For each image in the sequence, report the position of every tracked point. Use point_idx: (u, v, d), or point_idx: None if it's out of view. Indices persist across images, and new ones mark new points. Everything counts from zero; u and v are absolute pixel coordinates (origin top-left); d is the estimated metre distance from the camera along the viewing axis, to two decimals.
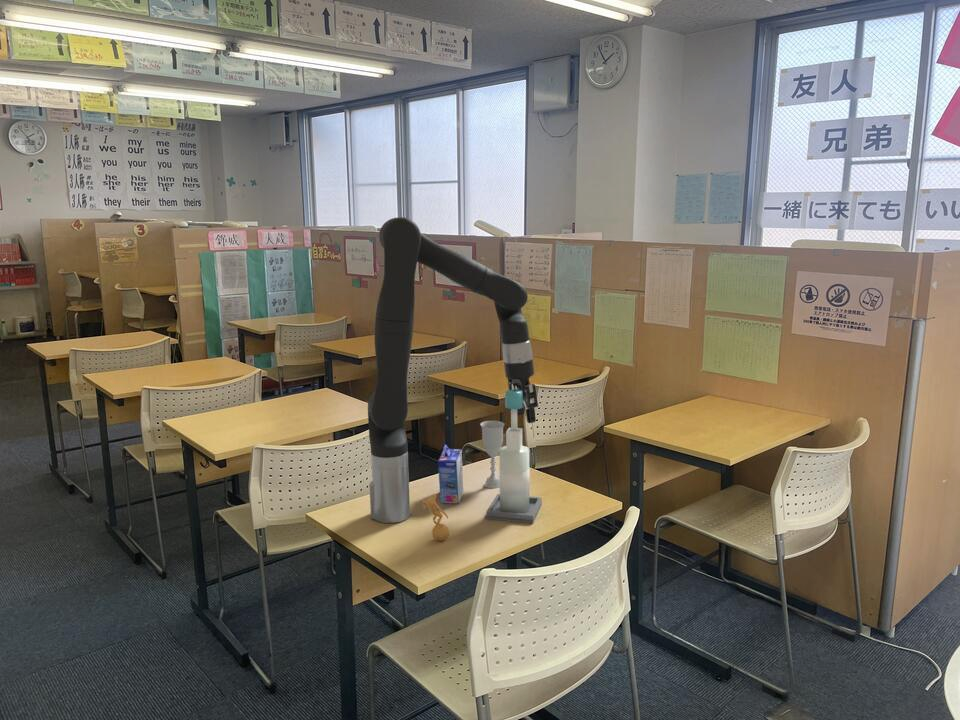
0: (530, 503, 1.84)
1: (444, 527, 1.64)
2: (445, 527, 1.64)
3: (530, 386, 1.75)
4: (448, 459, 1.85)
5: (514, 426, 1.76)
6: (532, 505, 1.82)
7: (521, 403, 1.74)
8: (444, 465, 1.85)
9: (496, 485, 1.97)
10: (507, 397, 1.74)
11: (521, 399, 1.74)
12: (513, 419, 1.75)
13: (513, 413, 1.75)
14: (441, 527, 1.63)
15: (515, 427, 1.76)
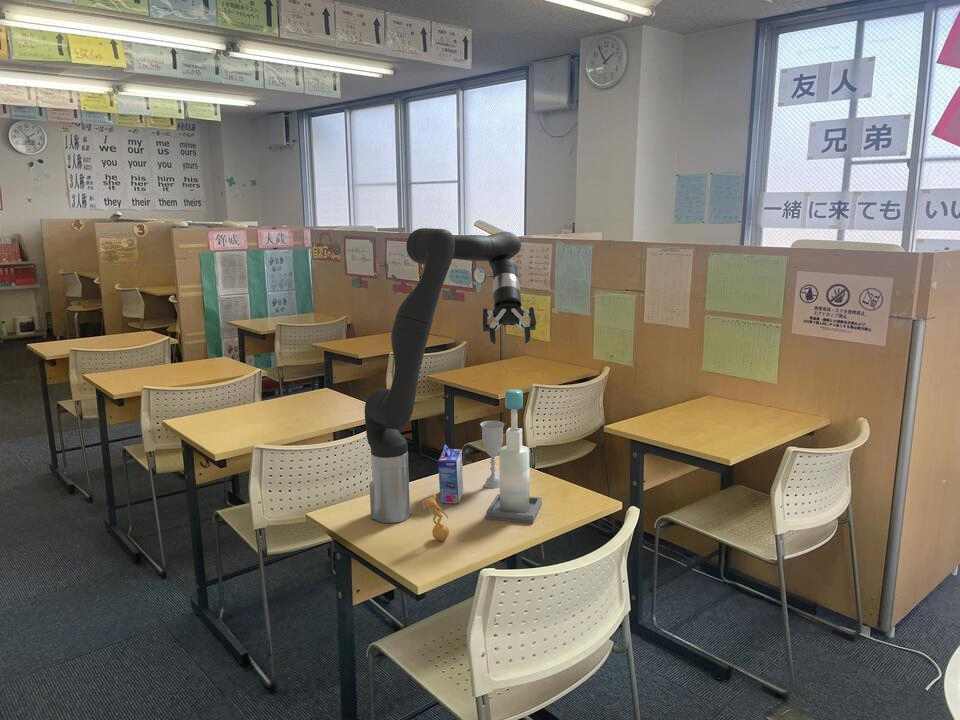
0: (530, 503, 1.84)
1: (444, 527, 1.64)
2: (445, 527, 1.64)
3: None
4: (448, 459, 1.85)
5: (514, 426, 1.76)
6: (532, 505, 1.82)
7: (521, 403, 1.74)
8: (444, 465, 1.85)
9: (496, 485, 1.97)
10: (507, 397, 1.74)
11: (521, 399, 1.74)
12: (513, 419, 1.75)
13: (513, 413, 1.75)
14: (441, 527, 1.63)
15: (515, 427, 1.76)
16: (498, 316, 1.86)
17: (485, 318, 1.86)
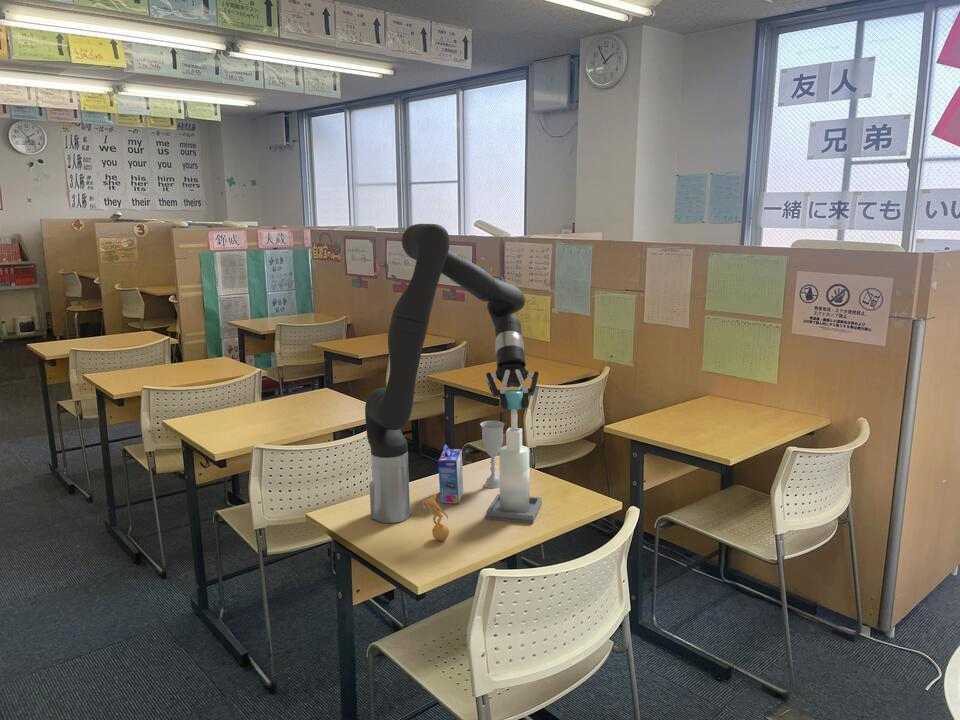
0: (530, 503, 1.84)
1: (444, 527, 1.64)
2: (445, 527, 1.64)
3: None
4: (448, 459, 1.85)
5: (514, 426, 1.76)
6: (532, 505, 1.82)
7: (521, 403, 1.74)
8: (444, 465, 1.85)
9: (496, 485, 1.97)
10: (507, 397, 1.74)
11: (521, 399, 1.74)
12: (513, 419, 1.75)
13: (513, 414, 1.75)
14: (441, 527, 1.63)
15: (515, 427, 1.76)
16: (504, 379, 1.76)
17: (492, 383, 1.76)
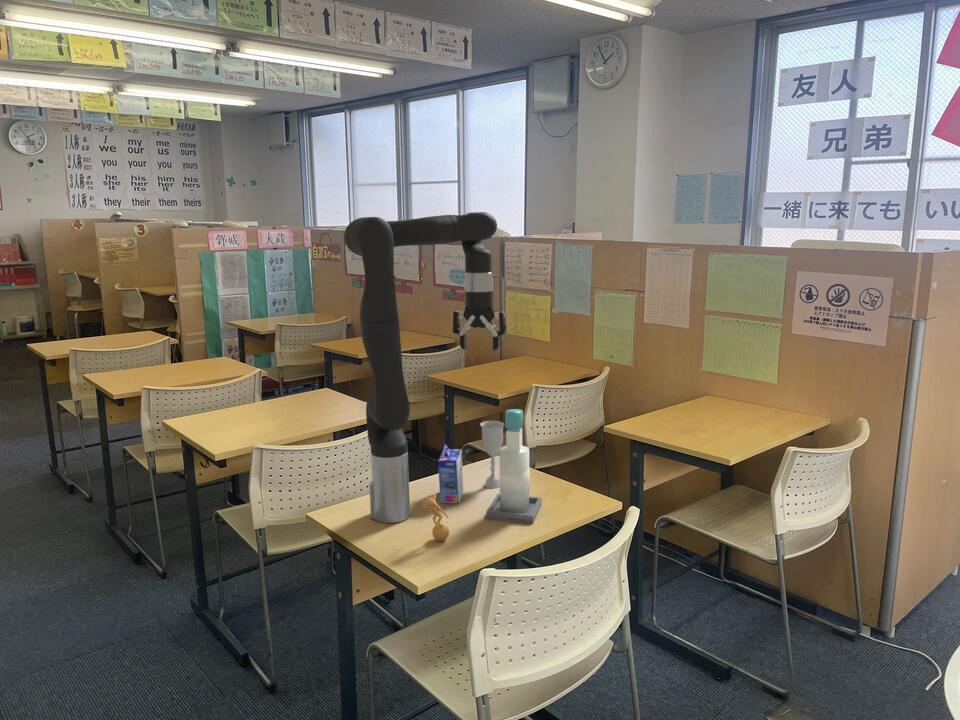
0: (530, 503, 1.84)
1: (444, 527, 1.64)
2: (445, 527, 1.64)
3: (503, 313, 1.84)
4: (448, 459, 1.85)
5: None
6: (532, 505, 1.82)
7: (521, 423, 1.75)
8: (444, 465, 1.85)
9: (496, 485, 1.97)
10: (507, 417, 1.75)
11: (521, 419, 1.75)
12: None
13: None
14: (441, 527, 1.63)
15: None
16: (467, 323, 1.85)
17: (455, 323, 1.87)
